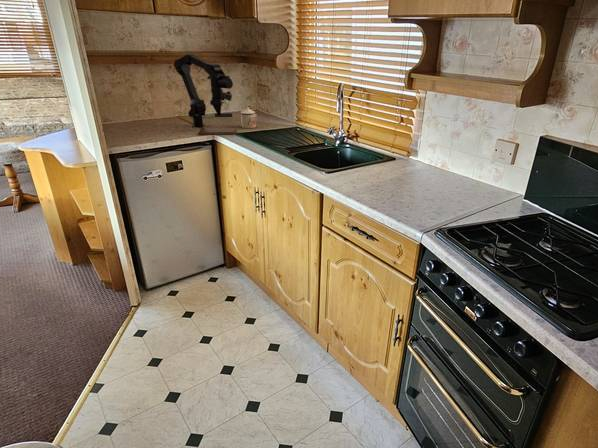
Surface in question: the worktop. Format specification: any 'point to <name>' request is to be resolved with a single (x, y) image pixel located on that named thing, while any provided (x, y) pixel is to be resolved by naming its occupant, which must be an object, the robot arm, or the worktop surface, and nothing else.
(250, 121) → the teacup with lid
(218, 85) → the robot arm
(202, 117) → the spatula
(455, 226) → the worktop surface
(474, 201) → the worktop surface
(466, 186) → the worktop surface
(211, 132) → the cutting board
